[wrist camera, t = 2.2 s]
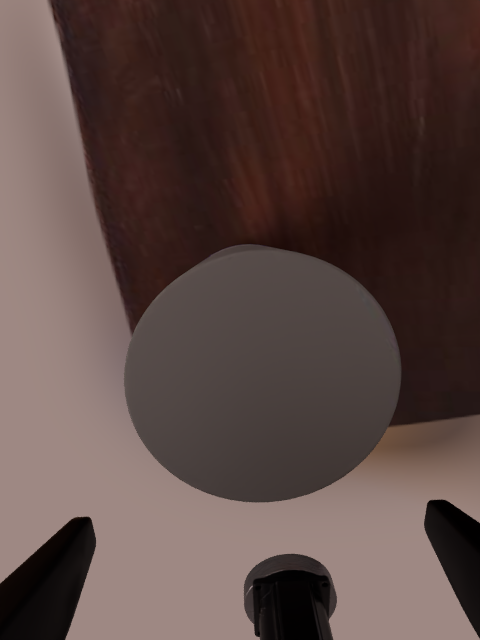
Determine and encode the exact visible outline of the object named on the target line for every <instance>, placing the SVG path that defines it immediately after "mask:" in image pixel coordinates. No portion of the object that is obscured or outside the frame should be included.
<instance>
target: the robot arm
mask: <svg viewBox="0 0 480 640" xmlns="http://www.w3.org/2000/svg"><path fill="white" fill-rule="evenodd" d="M424 526H425V531H426V534H427V536H428V538H429V540H430V542H431V544H432V547H433V549H434V551H435V553H436V555H437V557H438V559H439V561H440V563H441V565H442V567H443V569H444V571H445V574H446V576H447V578H448V580H449V582H450V584H451V586H452V588H453V590H454V592H455V594H456V596H457V598H458V600H459V602H460V604H461V606H462V608H463V610H464V611H465V614H466V615H467V617H468V619H469V621H470V623H471V624H472V626H473V628H474V630H475V631H476V633H477V635H478V636H479V638H480V523H479V522H477V521H476V520H474V519H473V518H472V517H470V516H469V515H467V514H466V513H464V512H463V511H461V510H460V509H458V508H457V507H455V506H454V505H453V504H451V503H450V502H448V501H446V500H430V501H429V502H428V503H427V508H426V515H425V521H424ZM95 547H96V537H95V533H94V529H93V525H92V520H91V518H90V517H76V518H73V519H71V520H70V521H69V522H68V523H67V524H66V525H65V526H63V527H62V528H61V529H60V530H59V531H58V532H57V533H56V534H55V535H54V536H52V537H51V538H50V539H49V540H48V541H47V542H46V543H45V544H44V545H42V546H41V547H40V548H39V549H38V550H37V551H36V552H35V553H34V554H33V555H31V556H30V557H29V558H28V559H27V560H26V561H25V562H24V563H23V564H21V565H20V567H18V568H17V569H16V570H15V571H14V572H13V573H11V575H9V576H8V577H7V578H6V579H5V580H4V581H3V582H2V583H0V640H65V638H66V636H67V633H68V631H69V628H70V625H71V622H72V619H73V617H74V613H75V610H76V607H77V604H78V601H79V598H80V595H81V591H82V588H83V585H84V582H85V579H86V576H87V573H88V570H89V567H90V564H91V560H92V557H93V554H94V551H95ZM252 584H253V606H254V629H255V635H256V636H257V637H260V640H333V637H332V633H331V629H330V625H329V605H330V586H331V584H330V581H329V577H328V576H326V575H314V576H293V577H271V578H256V579H254V580H253V582H252Z"/></svg>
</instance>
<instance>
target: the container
mask: <svg viewBox="0 0 480 640" xmlns="http://www.w3.org/2000/svg"><path fill="white" fill-rule="evenodd" d="M400 384H401V361H400V354H399V348H398V344H397V340H396V337H395V334H394V331H393V329H392V327H391V324H390V322H389V320H388V318H387V316H386V315H385V313H384V311H383V309H382V308H381V307H380V305H379V304H378V302H377V301H376V300H375V299H374V297H373V296H372V295H371V294H370V293H369V292H368V291H367V290H366V289H365V288H364V287H363V286H362V285H361V284H360V283H359V282H358V281H356V280H355V279H354V278H353V277H351V276H350V275H349V274H347V273H346V272H344V271H342V270H341V269H339V268H337V267H335V266H334V265H332V264H330V263H328V262H325V261H323V260H320V259H318V258H315V257H312V256H309V255H305V254H302V253H297V252H292V251H287V250H282V249H277V248H272V247H268V246H264V245H257V244H244V245H237V246H232V247H228V248H225V249H223V250H220V251H218V252H216V253H214V254H212V255H211V256H209V257H208V258H206V259H205V260H204V261H202V262H201V263H199V264H198V265H196V266H195V267H193V268H192V269H190V270H189V271H187V272H186V273H184V274H183V275H181V276H180V277H178V278H177V279H176V280H174V281H173V282H172V283H171V284H170V285H168V286H167V287H166V288H165V289H164V290H163V291H162V292H161V293H160V294H159V295H158V296H157V297H156V298H155V300H154V301H153V302H152V303H151V304H150V306H149V307H148V309H147V310H146V311H145V313H144V314H143V316H142V318H141V319H140V321H139V323H138V325H137V327H136V329H135V331H134V333H133V336H132V339H131V342H130V344H129V348H128V352H127V356H126V363H125V372H124V386H125V397H126V401H127V406H128V410H129V414H130V416H131V419H132V422H133V424H134V427H135V429H136V431H137V433H138V435H139V437H140V438H141V440H142V441H143V443H144V445H145V446H146V447H147V449H148V450H149V451H150V453H151V454H152V455H153V456H154V457H155V459H157V461H158V462H159V463H160V464H161V465H162V466H164V467H165V468H166V469H167V470H168V471H169V472H170V473H172V474H173V475H175V476H176V477H177V478H179V479H180V480H182V481H184V482H185V483H187V484H189V485H191V486H192V487H194V488H197V489H199V490H201V491H203V492H206V493H209V494H211V495H215V496H218V497H222V498H226V499H230V500H236V501H243V502H273V501H282V500H288V499H292V498H296V497H300V496H304V495H307V494H310V493H313V492H315V491H317V490H320V489H322V488H324V487H326V486H328V485H331V484H332V483H334V482H335V481H337V480H339V479H340V478H342V477H344V476H345V475H346V474H348V473H349V472H350V471H352V470H353V469H354V468H355V467H356V466H357V465H359V464H360V463H361V462H362V461H363V460H364V459H365V458H366V457H367V456H368V455H369V454H370V452H371V451H372V450H373V449H374V448H375V446H376V445H377V444H378V442H379V441H380V439H381V438H382V436H383V435H384V433H385V431H386V429H387V427H388V425H389V423H390V421H391V419H392V416H393V414H394V411H395V408H396V405H397V401H398V397H399V391H400Z"/></svg>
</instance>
